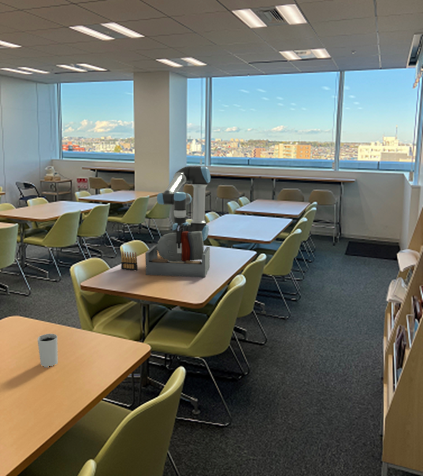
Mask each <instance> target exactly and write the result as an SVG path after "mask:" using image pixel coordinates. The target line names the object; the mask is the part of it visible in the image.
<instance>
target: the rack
mask: <svg viewBox="0 0 423 476" xmlns="http://www.w3.org/2000/svg"><path fill="white" fill-rule="evenodd" d="M157 245H158V244H154V245H153V246H151V247H150V248H149V249H148V250H147V251H146V252H145V256H144V257H145V276H161V277H163V276H165V277H186V278H187V277H191V278H193V277H194V278H206V276H207V274H208V272H209V270H210V264H211V261H210V260H211V255H210V254H211V253H210V251H211V250H210V249H211V246H206V247H205V248H204V252H203V254H202V260H201V264H193V263H186V262H184V263H169V262H183V261H168V263H167V262H152V260H153V259H159V256H158V255H159V253H158V250H157Z"/></svg>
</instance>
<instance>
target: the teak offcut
mask: <svg viewBox="0 0 423 476" xmlns="http://www.w3.org/2000/svg"><path fill="white" fill-rule="evenodd" d="M201 262H202V260H201V261H200V260H190V261H186V263H193V264H201Z"/></svg>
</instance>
